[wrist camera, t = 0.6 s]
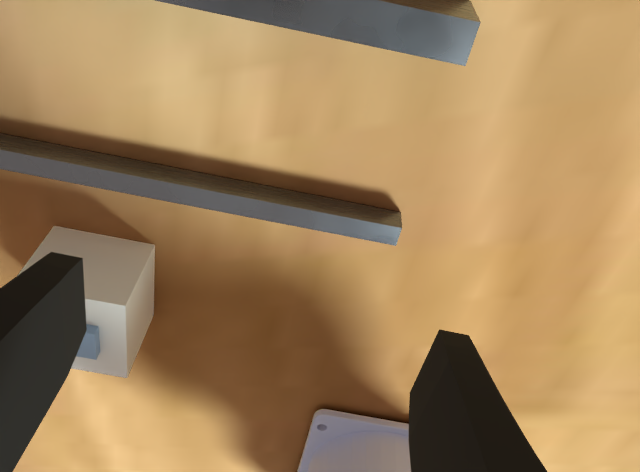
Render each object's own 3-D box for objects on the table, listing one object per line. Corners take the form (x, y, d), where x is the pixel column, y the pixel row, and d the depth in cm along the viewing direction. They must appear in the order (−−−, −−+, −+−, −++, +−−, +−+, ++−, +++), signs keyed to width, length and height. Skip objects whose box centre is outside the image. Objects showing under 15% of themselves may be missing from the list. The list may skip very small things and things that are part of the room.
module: (154, 313, 26) (123, 386, 23) (63, 296, 26) (19, 368, 23) (155, 243, 24) (121, 314, 20) (54, 224, 23) (4, 293, 20)
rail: (395, 229, 22) (397, 282, 20) (-78, 137, 21) (-135, 181, 19) (470, 0, 17) (486, 34, 15) (-146, -134, 16) (-236, -121, 14)
